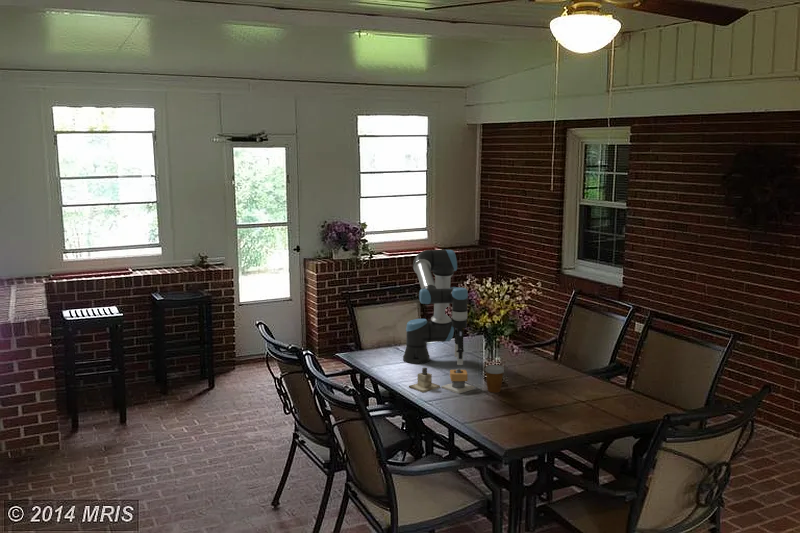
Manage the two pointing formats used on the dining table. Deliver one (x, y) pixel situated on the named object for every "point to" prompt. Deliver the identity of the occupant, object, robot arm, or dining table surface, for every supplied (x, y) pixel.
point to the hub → (458, 386)
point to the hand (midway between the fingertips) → (458, 360)
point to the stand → (424, 382)
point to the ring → (458, 375)
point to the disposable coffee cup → (494, 377)
